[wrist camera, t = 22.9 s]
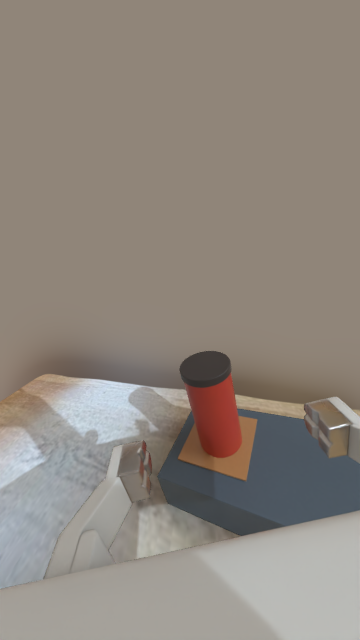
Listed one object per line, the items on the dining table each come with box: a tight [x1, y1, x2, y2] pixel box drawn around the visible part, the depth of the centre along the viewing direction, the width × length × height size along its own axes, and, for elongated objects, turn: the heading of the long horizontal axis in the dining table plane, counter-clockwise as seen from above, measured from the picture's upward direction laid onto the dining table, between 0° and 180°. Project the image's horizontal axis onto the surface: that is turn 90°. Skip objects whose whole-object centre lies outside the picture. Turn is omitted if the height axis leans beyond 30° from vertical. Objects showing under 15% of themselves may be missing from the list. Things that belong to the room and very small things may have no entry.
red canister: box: [180, 351, 242, 458], centre depth 25 cm, size 6×6×11 cm
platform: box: [157, 409, 360, 536], centre depth 25 cm, size 23×12×5 cm, turn 64°
